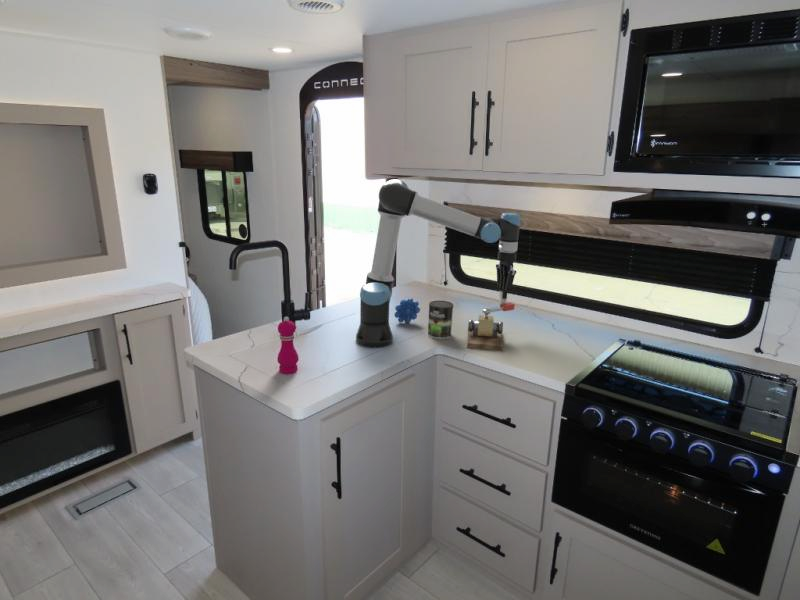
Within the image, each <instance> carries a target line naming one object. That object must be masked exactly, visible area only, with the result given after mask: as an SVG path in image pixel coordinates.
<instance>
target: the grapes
mask: <svg viewBox="0 0 800 600" xmlns="http://www.w3.org/2000/svg"><path fill="white" fill-rule="evenodd" d="M419 305H420V304H419V301H418V300H414V298H411V297H409V298H408V299H401V300H400V303H399V304H397V305H395V307H394V308H395V312H394V317H395V318H397V320H398V322H399V323H405V324H409V323H411V321H412V320H413V321H414V320H416V319H417V318H418V314H419V313H420V311H421V308H420V306H419Z"/></svg>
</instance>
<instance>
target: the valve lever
mask: <svg viewBox="0 0 800 600" xmlns="http://www.w3.org/2000/svg"><path fill="white" fill-rule="evenodd" d="M515 306H516V305H515V303H512V302H506V303H504V304H500V306H497V307H491V308H488V307H487V308H483V309H482V314H483V315H484V314H488V315H489V314H491V313H495V312H501V311H503V312H507V311H508V312H509V311H513V310H515Z"/></svg>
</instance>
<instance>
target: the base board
mask: <svg viewBox="0 0 800 600" xmlns="http://www.w3.org/2000/svg"><path fill="white" fill-rule="evenodd" d="M466 339H467V340H466V341H467V342H466V344H467V345H466V348H467V349H479V350H490V351H491V350H492V351H503V347H504V344H503V339H502V334H498V333H497V338H492V337H491V336H477V337H473V331H472V332H469V331H468V330H467V338H466Z"/></svg>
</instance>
